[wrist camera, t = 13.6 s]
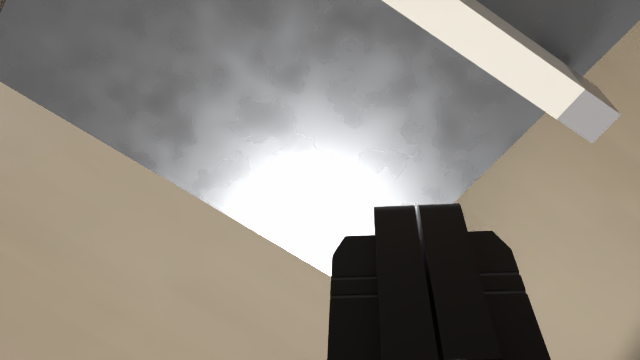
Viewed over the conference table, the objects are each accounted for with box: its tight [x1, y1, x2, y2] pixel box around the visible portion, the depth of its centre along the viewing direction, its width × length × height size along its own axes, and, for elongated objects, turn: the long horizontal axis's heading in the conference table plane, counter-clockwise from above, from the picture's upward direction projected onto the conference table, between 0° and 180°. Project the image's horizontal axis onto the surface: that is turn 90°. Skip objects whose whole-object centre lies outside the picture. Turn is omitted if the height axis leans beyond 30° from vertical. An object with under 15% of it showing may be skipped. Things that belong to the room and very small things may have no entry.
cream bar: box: [382, 0, 621, 143], centre depth 25 cm, size 16×5×4 cm, turn 57°
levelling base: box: [0, 0, 640, 276], centre depth 28 cm, size 24×24×6 cm
